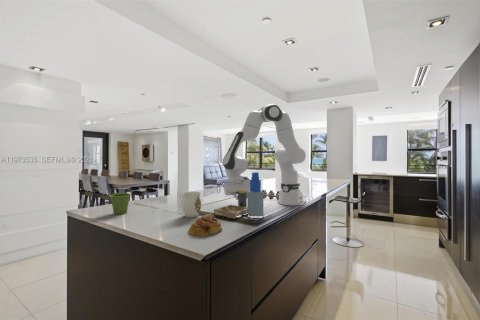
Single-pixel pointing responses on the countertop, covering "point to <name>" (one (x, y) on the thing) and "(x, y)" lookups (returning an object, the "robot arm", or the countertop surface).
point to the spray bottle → (255, 196)
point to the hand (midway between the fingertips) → (242, 198)
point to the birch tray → (231, 210)
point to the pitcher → (191, 204)
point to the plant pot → (120, 202)
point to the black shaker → (242, 199)
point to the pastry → (205, 226)
